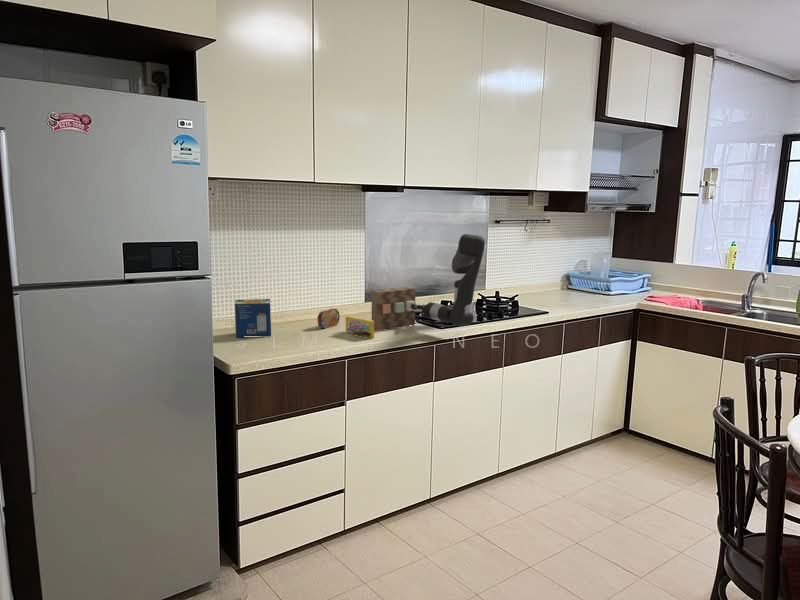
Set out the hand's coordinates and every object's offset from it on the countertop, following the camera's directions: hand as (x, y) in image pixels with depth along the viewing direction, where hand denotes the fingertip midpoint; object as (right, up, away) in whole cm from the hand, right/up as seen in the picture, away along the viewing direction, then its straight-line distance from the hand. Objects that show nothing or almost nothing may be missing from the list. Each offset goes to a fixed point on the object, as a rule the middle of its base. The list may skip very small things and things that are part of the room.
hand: (412, 306), depth 282 cm
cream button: (-1, -2, +2) cm, 3 cm away
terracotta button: (-13, -3, -6) cm, 15 cm away
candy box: (-24, -14, -19) cm, 33 cm away
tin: (-40, -10, 0) cm, 41 cm away
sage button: (-6, -3, -3) cm, 8 cm away
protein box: (-72, -13, -18) cm, 75 cm away
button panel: (-9, -10, +2) cm, 13 cm away
